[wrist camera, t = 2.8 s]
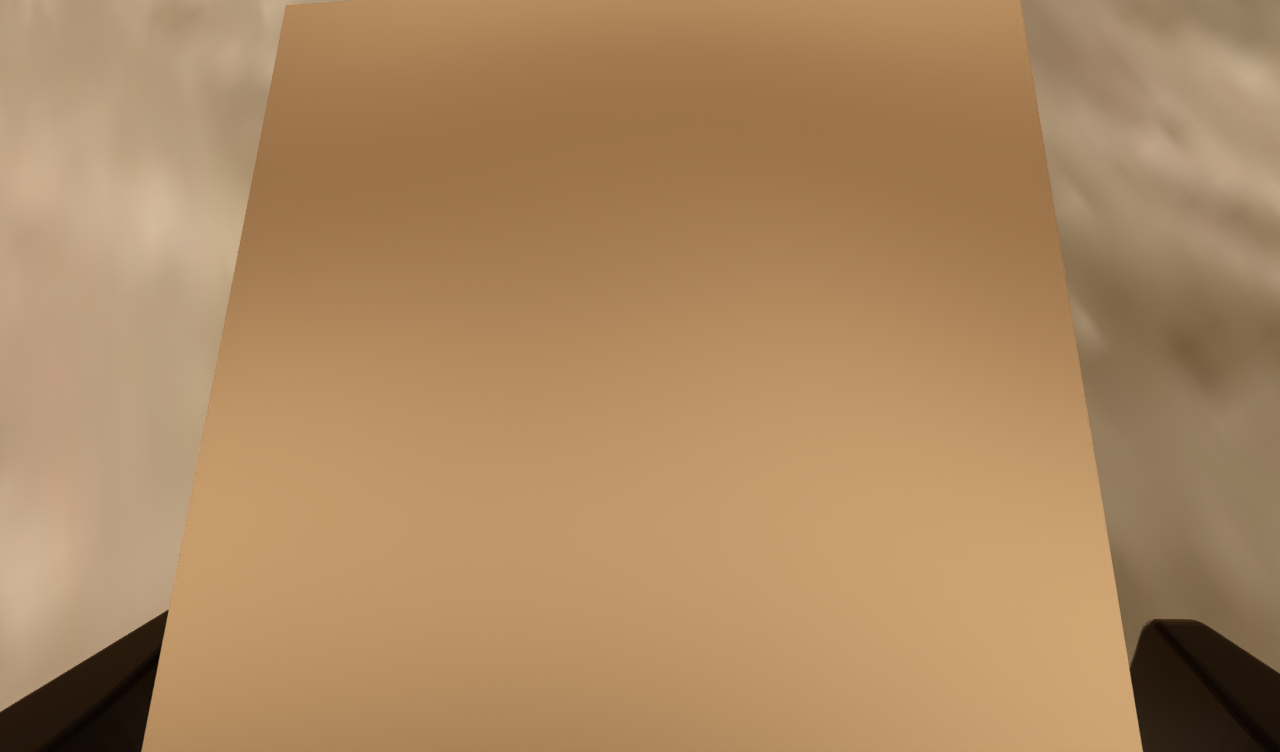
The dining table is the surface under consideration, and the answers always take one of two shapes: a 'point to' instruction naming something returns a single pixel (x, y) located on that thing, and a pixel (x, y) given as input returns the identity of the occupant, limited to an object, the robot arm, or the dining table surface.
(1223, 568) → the dining table surface
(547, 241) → the maple block
